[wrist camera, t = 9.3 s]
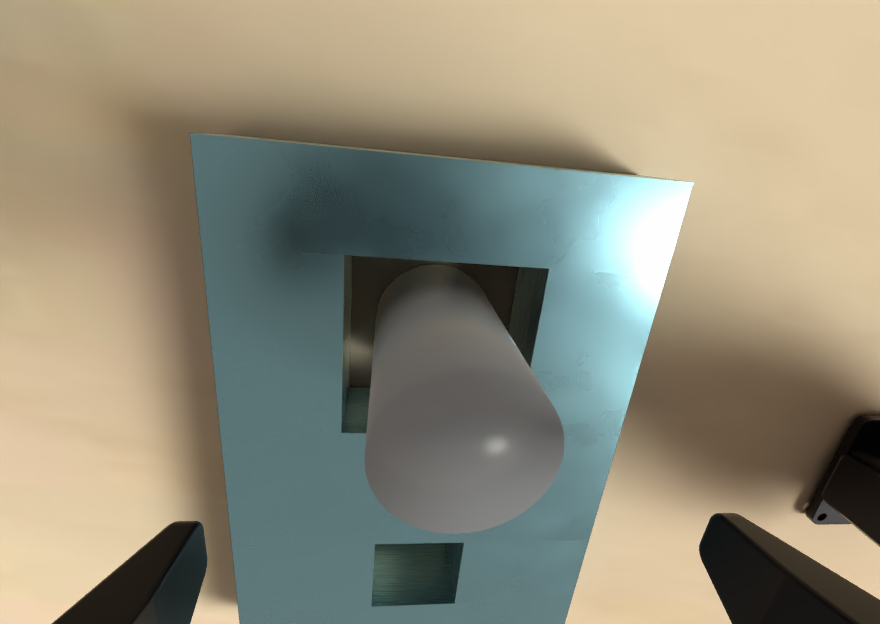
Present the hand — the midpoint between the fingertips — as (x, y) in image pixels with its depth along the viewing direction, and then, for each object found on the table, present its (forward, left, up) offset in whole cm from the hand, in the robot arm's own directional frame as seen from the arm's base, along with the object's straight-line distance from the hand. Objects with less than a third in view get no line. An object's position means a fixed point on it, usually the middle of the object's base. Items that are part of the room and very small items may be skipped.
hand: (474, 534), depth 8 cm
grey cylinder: (0, 0, -10) cm, 10 cm away
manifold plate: (0, +5, -10) cm, 11 cm away
